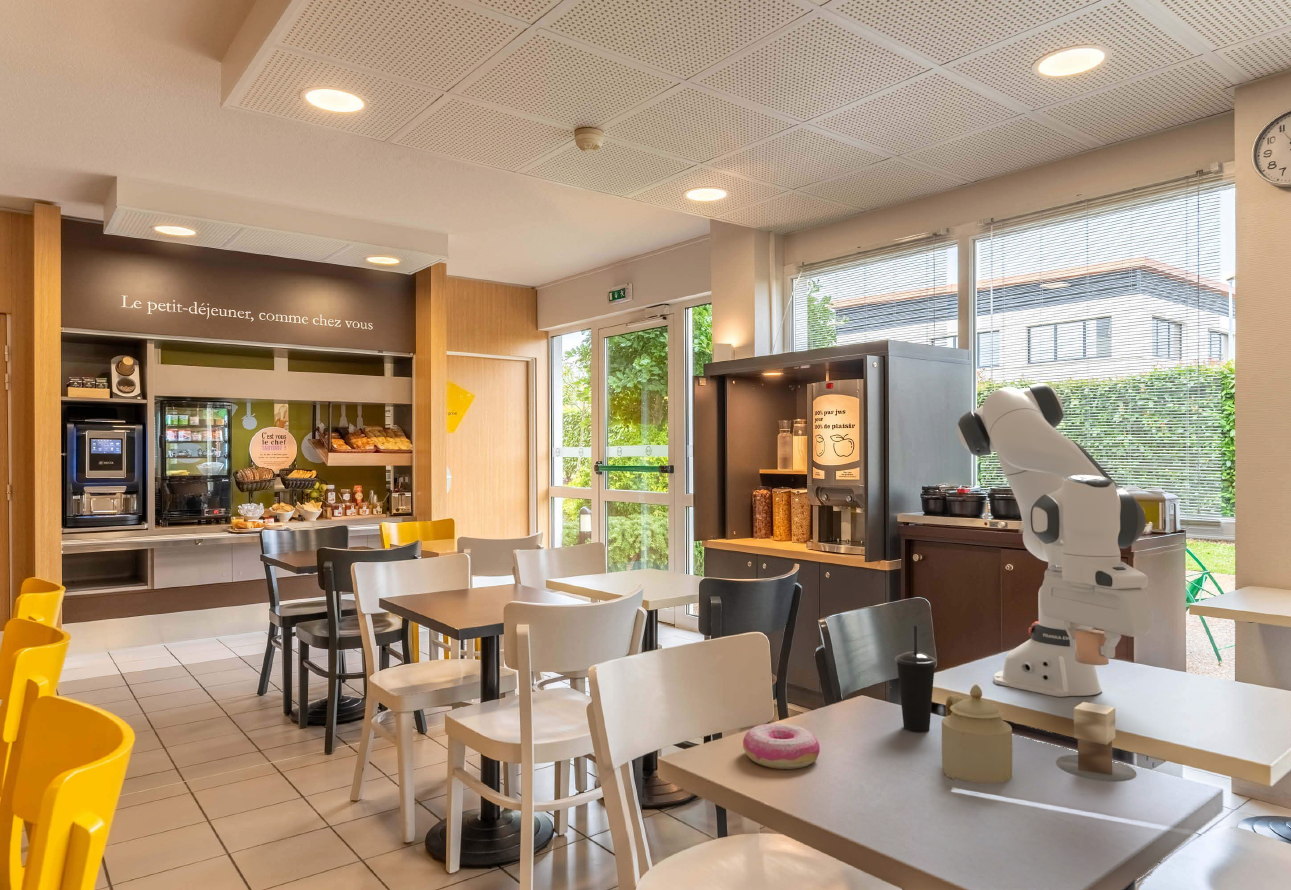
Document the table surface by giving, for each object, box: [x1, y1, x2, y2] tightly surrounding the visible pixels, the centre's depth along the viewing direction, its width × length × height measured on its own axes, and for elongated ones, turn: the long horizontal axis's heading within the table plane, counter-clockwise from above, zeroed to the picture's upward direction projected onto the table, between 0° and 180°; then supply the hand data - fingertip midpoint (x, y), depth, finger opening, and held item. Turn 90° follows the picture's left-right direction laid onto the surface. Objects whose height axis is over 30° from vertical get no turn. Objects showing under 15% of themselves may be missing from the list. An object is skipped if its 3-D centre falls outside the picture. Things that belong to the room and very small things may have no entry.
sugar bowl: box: [941, 684, 1013, 784], centre depth 141 cm, size 15×11×15 cm
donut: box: [742, 722, 821, 770], centre depth 147 cm, size 14×13×5 cm
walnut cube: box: [1077, 739, 1113, 775], centre depth 140 cm, size 5×5×5 cm
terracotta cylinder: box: [1075, 629, 1110, 666], centre depth 140 cm, size 5×5×5 cm
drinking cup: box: [894, 625, 937, 733], centre depth 163 cm, size 8×8×20 cm
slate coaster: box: [1055, 754, 1138, 782], centre depth 140 cm, size 12×12×1 cm
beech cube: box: [1073, 701, 1116, 745], centre depth 140 cm, size 5×5×5 cm
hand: (1092, 652), depth 140 cm, fingers closed on terracotta cylinder, 5 cm apart
